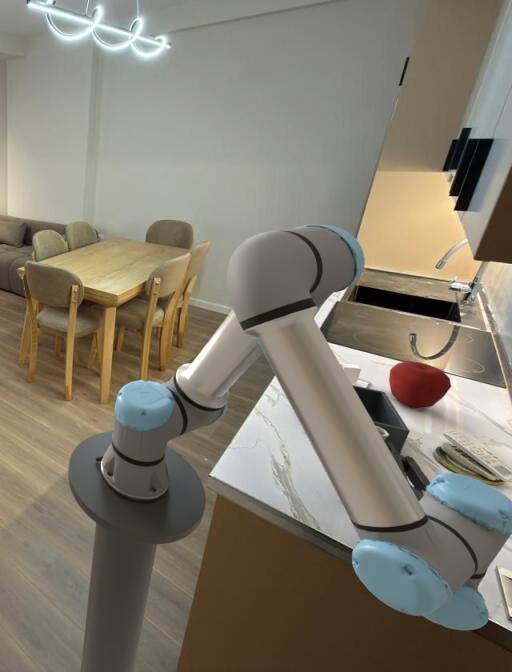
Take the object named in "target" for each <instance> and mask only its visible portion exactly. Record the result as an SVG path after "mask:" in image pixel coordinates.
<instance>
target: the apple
mask: <svg viewBox="0 0 512 672" xmlns="http://www.w3.org/2000/svg"><path fill="white" fill-rule="evenodd" d="M388 382H389V389H390V393H391V395H392V396H393V397H394V399H396V401H397V402H398V403H400V404H401V405H403V406H405V407H408V408H411V409H416V410H418V409H425V408H430V407H433V406H435V405H436V404H437V403H438V402H439V401H441V400H442V399H443V398H444V397H445V396H446V394H447V393H448V392H449V391H450V389H451V388H452V383H451V378H450V377H449V376H448V375H447V373H445V372H444V371H443V370H441V369H440V368H437V367H435V366H433V365H431V364H426V363H423V362H418V361H415V360H413V361H412V360H407V361H402V362H398V363H396V364H395V365H393V366H392V367H391V368H390V370H389V377H388Z"/></svg>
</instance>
